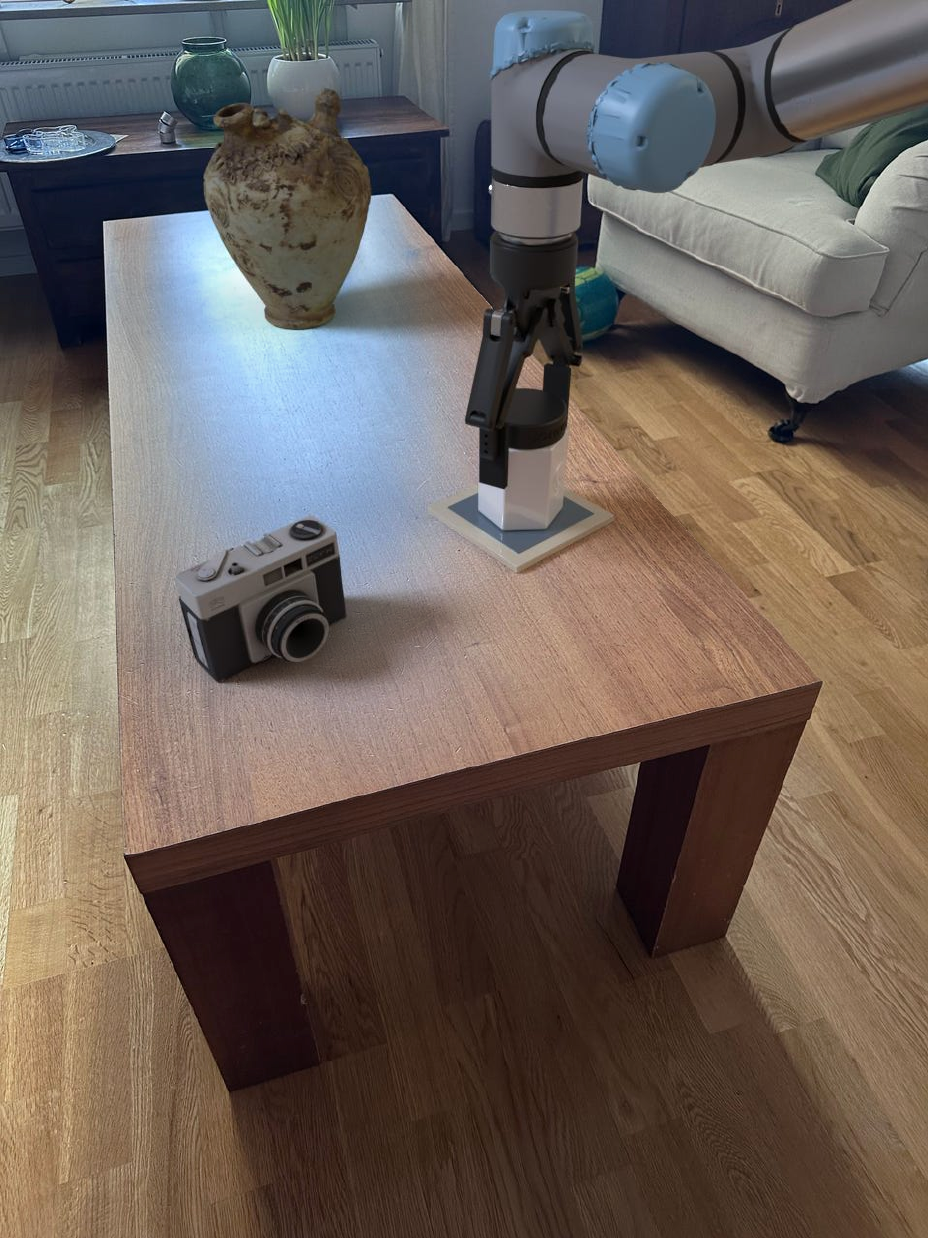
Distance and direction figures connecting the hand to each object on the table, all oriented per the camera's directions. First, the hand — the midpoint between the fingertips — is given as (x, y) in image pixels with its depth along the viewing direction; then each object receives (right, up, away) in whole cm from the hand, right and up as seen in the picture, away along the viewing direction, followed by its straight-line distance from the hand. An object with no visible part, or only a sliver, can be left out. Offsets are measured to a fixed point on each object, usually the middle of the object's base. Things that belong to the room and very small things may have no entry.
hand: (525, 453), depth 89 cm
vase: (-31, +30, +47) cm, 64 cm away
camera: (-22, -19, -11) cm, 31 cm away
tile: (0, -6, +5) cm, 8 cm away
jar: (0, -5, +5) cm, 7 cm away
